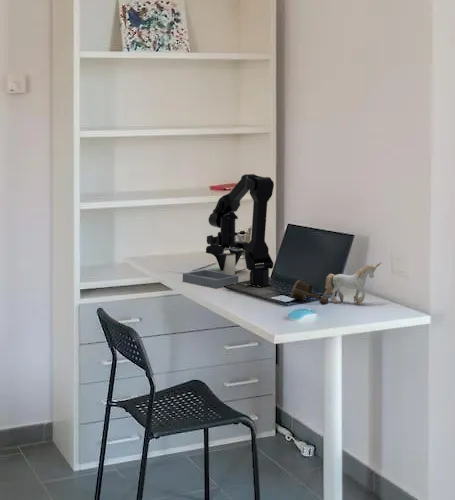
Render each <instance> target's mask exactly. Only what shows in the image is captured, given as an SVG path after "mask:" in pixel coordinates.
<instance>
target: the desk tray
mask: <svg viewBox="0 0 455 500" xmlns="http://www.w3.org/2000/svg"><path fill="white" fill-rule="evenodd" d="M182 282H183V283H189V284H193V285H198V286H202V287H208V288H213V289H220V288H225V287H224V286H225V285H229V284H234V283H238V284H239V275H236V274H235V275H231V274H226V273H220V271H215V270H214V271H213V270H210V269H209V270H208V269H201V270H200V269H199V270H196V271H194V270H193V271H188V272H186V273H185V272H184V273H182Z"/></svg>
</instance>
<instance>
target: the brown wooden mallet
mask: <svg viewBox="0 0 455 500" xmlns="http://www.w3.org/2000/svg"><path fill="white" fill-rule="evenodd" d="M305 297H308V298H312V299H313V298H314V299H317V300H319V302H320V303H321V304H322V305H323V304H326V303H328V302H329V297H328V295H325V296H324V295H322V296H321V295H319V294H317V293H315V292H312V284H310V283H309V282H306V281H303V280H300V279H298V280H297V281H296V282H294V285H293V287H292V291H291V294H290V297H289V298H291V299H296V300H298V299H300V300H299V301H301V300H302V301H301V302H303V301H304V300H303V299H304V298H305ZM304 302H305V301H304Z"/></svg>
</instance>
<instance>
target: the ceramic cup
mask: <svg viewBox="0 0 455 500" xmlns="http://www.w3.org/2000/svg"><path fill="white" fill-rule="evenodd" d="M224 254H227V255H226V260H225V265H224V270H223V271H221V270H220V269H219V272H220V273H226V274H231V275H236V267H235V254H232V253H230V252H229V253H228V252H224Z"/></svg>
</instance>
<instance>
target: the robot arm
mask: <svg viewBox="0 0 455 500" xmlns="http://www.w3.org/2000/svg"><path fill="white" fill-rule="evenodd" d="M274 187H275V182H274V181H273V179H272V178H271V177H269V176H265V177H264V176H260V175H257V174H254V173H248V174H247V173H246V174H243V175H241V178H240V180H239V181H238V182H237V183H236V185H235V186H234V187H233V188H232V189H231V191H230V192H228V193H227V194H224V195H222V196H221V197H220V198H219V199H218V201H217V204H216V206H215V208H214V209H212V213H211V214H209V217H208V223H209V225H210V226H211V227H214V228H218V229H220V231H217V235H216V236H214V235H213V234H212V235H211V234H210V235H207V236H206V243H207V246H206V247H205V253H206V254H210V255H212V256H214V257H215V258H216V261H217V264H218V267H219V271H220V270H221V271H223V270H224V265H225V260H226V255H227V254H224V253H225V251H229V253H232V254H235V268H236V266H237V265H238V262H239V260H240V259H241V257H242V255H243V254H244V260H245V265H246V269H247V270H248V271H249V283H247V285H248V284H251V285H255V286H257V285H259V286H264V287H268V286H267V285H269V286H272V283H270V281H269V280H270V279H269V278H270V277H269V276H270V269H273V267H274V262H273V259H272V257H271V256H270V253H269V247H268V245H267V243H266V241H265V239H266V227H267V225H266V224H267V212H268V203H269V200H270V199H271V198H272V196H273V192H274ZM247 193H249V195H250V196H251V199H252V201H253V206H252V222H251V223H252V224H251V236H250V237H251V238H250V241H249V242H248V241H243V240H237V241H236V236H238V234H239V233H238V232H236V220H238V219H239V218H238V217H239V216H237V214H236V212H238V209H239V207H240V206H241V200H242V199H243V198H244V197H245V196H246V194H247ZM255 286H254V287H255Z"/></svg>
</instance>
